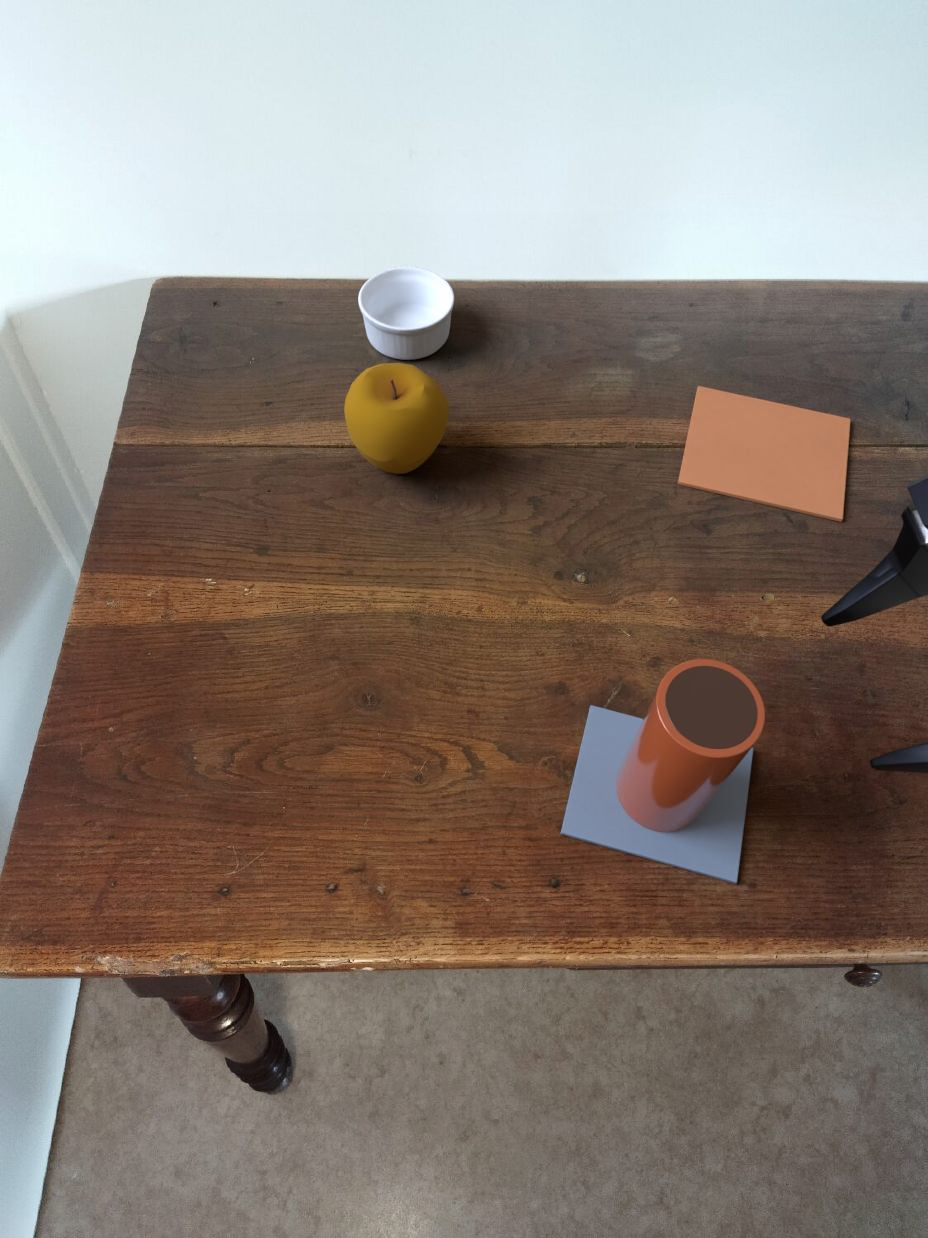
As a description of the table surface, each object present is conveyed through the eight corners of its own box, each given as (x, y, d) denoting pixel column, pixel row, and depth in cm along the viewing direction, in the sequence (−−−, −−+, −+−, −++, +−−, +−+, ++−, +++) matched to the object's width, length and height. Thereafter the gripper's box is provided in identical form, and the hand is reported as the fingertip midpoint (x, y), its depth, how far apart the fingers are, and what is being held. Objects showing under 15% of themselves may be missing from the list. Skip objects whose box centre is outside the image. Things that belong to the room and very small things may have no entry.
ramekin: (343, 330, 85) (338, 293, 82) (412, 290, 89) (411, 252, 85) (403, 379, 82) (401, 343, 78) (472, 336, 85) (474, 299, 82)
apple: (455, 427, 79) (457, 351, 72) (437, 501, 75) (437, 428, 67) (362, 413, 80) (354, 336, 72) (339, 485, 76) (328, 411, 68)
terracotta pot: (710, 760, 63) (771, 673, 51) (697, 843, 60) (759, 770, 48) (624, 738, 64) (665, 646, 52) (608, 818, 61) (648, 740, 49)
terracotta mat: (849, 421, 81) (850, 418, 80) (841, 522, 75) (843, 519, 74) (697, 388, 82) (698, 385, 82) (677, 484, 77) (678, 481, 76)
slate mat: (752, 750, 64) (753, 747, 64) (735, 884, 59) (737, 882, 59) (589, 707, 65) (590, 704, 65) (560, 834, 60) (560, 832, 60)
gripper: (1044, 349, 42) (743, 503, 50) (1257, 708, 32) (841, 823, 41) (1091, 457, 49) (821, 575, 58) (1275, 774, 40) (920, 860, 48)
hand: (847, 690), depth 51 cm, fingers open, 9 cm apart
